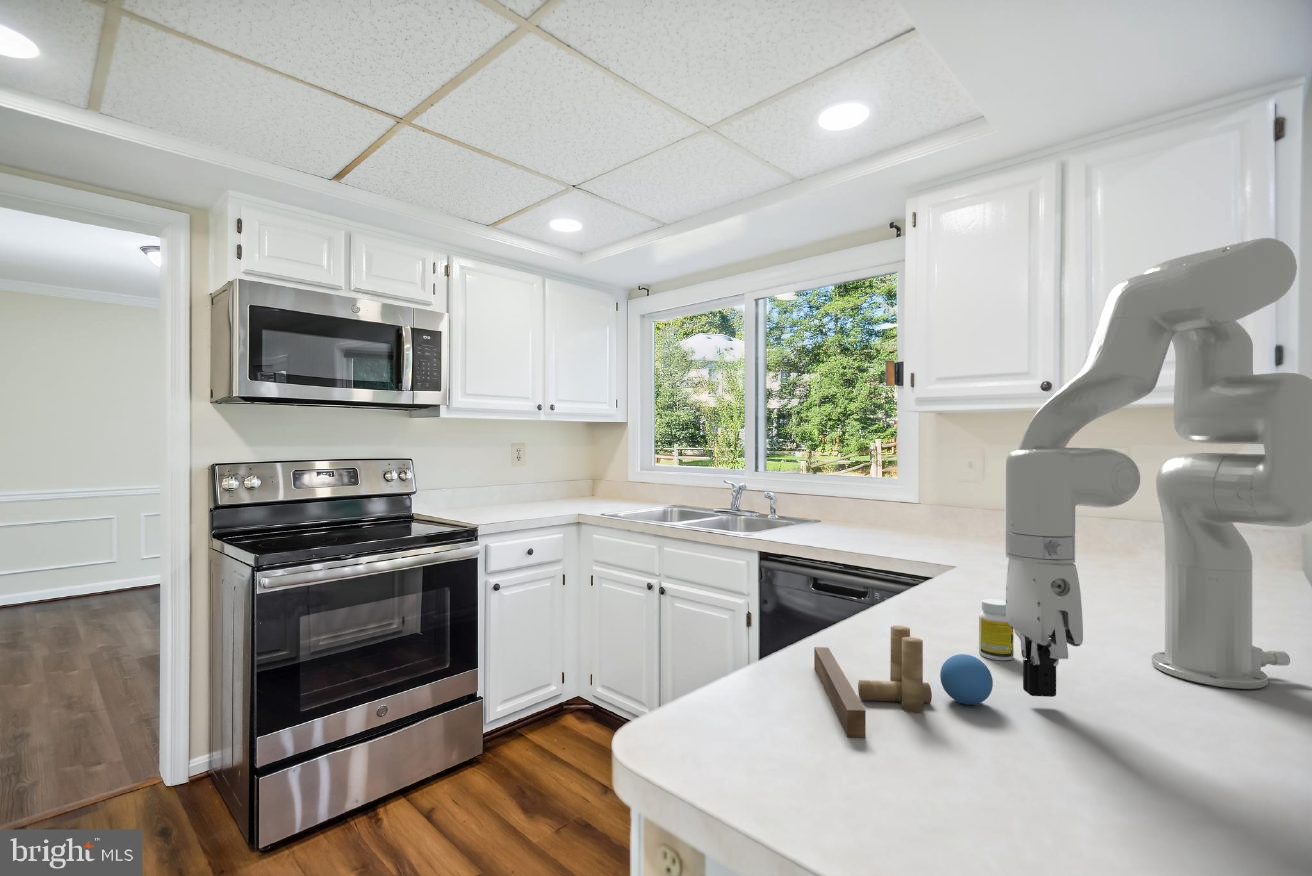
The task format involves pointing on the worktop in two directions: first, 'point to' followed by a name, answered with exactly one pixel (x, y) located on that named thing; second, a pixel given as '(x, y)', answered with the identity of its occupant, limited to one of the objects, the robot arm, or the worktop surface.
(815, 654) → the back rail
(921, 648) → the pin
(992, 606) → the supplement bottle
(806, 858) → the worktop surface
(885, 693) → the pin front
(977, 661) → the ball
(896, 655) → the pin
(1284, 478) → the robot arm
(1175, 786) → the worktop surface
